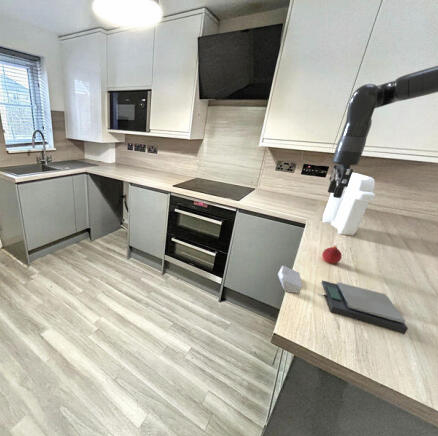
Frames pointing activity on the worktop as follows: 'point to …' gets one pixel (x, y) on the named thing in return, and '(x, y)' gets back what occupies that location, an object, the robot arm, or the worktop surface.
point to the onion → (332, 255)
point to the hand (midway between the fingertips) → (333, 195)
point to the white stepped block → (350, 204)
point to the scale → (340, 308)
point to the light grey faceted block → (290, 280)
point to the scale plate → (369, 302)
